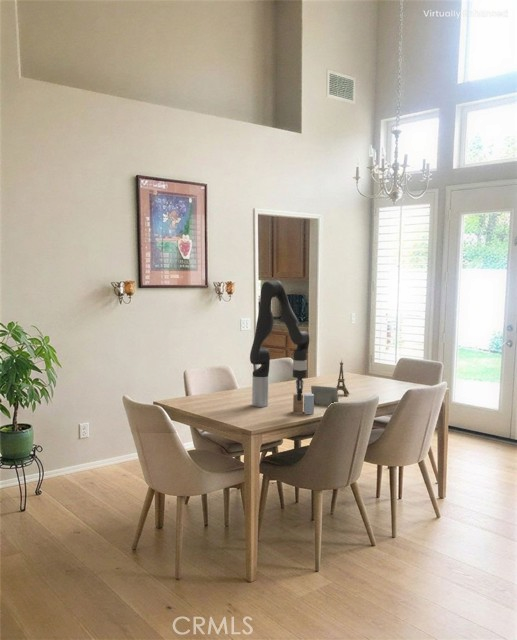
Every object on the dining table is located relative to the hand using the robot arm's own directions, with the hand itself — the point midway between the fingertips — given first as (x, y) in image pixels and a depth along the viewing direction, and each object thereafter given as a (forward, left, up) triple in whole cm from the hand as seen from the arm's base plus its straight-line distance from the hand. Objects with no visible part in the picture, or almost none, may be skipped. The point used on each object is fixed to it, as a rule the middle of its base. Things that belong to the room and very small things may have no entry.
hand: (299, 400), depth 297 cm
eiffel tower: (-60, +31, -9) cm, 68 cm away
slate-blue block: (-8, +6, -8) cm, 13 cm away
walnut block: (-8, 0, -8) cm, 12 cm away
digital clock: (-32, +17, -9) cm, 38 cm away
